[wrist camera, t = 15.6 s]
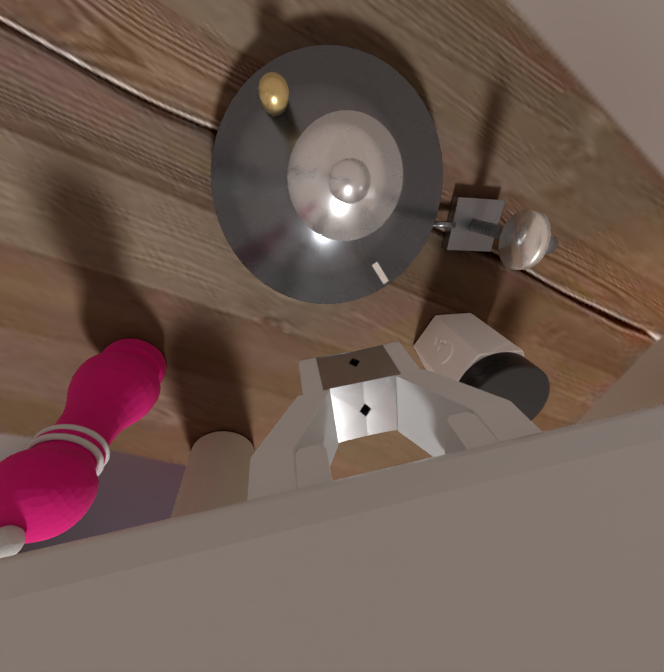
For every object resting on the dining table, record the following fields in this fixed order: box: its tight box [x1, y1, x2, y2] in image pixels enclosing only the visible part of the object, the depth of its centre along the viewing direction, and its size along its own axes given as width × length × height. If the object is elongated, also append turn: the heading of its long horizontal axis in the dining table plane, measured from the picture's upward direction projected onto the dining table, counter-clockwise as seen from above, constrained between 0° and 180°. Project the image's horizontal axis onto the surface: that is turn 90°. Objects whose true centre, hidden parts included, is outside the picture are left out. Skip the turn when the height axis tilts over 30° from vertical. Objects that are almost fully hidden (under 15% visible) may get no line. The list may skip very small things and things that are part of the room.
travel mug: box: [171, 431, 255, 518], centre depth 34 cm, size 8×8×18 cm
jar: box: [414, 313, 550, 420], centre depth 34 cm, size 9×8×12 cm
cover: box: [287, 110, 403, 241], centre depth 25 cm, size 9×9×4 cm
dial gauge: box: [433, 196, 558, 270], centre depth 28 cm, size 7×5×12 cm
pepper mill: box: [0, 338, 167, 558], centre depth 26 cm, size 7×7×20 cm
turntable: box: [211, 45, 443, 304], centre depth 27 cm, size 20×20×5 cm
